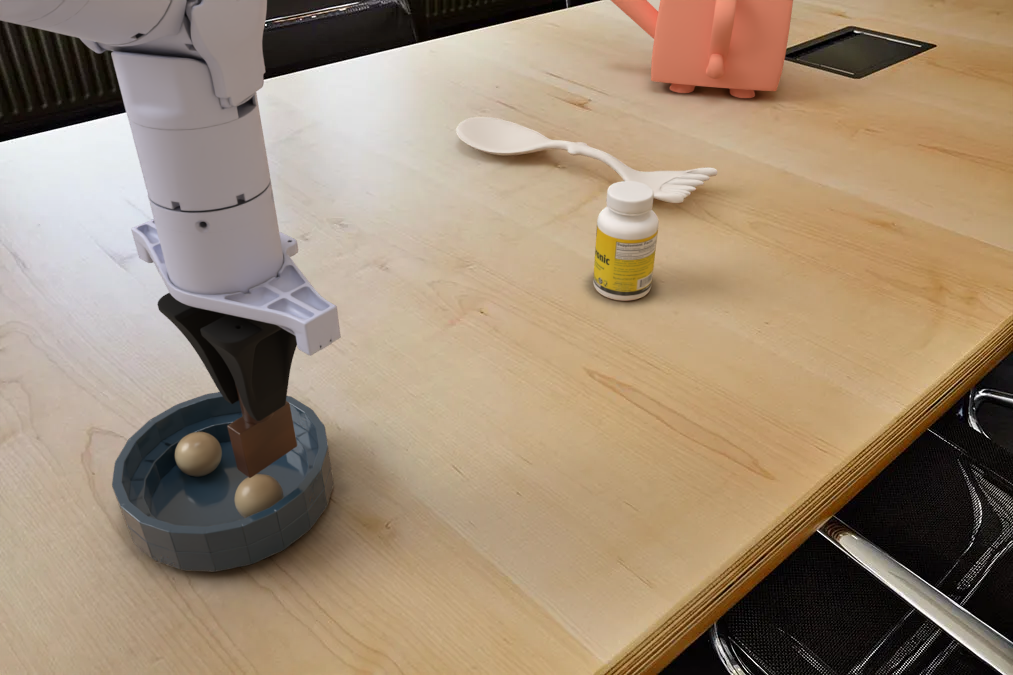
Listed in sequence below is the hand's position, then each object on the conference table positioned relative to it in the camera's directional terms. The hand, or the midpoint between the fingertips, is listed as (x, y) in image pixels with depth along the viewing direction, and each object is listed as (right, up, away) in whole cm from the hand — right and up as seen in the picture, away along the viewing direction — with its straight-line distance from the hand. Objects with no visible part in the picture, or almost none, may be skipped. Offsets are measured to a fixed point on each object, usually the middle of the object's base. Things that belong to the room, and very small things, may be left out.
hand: (255, 402), depth 49 cm
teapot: (+41, +42, +77) cm, 97 cm away
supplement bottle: (+25, +8, +30) cm, 40 cm away
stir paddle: (0, -4, +3) cm, 4 cm away
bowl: (-4, -7, +8) cm, 11 cm away
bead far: (-6, -4, +8) cm, 11 cm away
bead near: (-1, -7, +5) cm, 8 cm away
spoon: (+22, +23, +51) cm, 60 cm away
